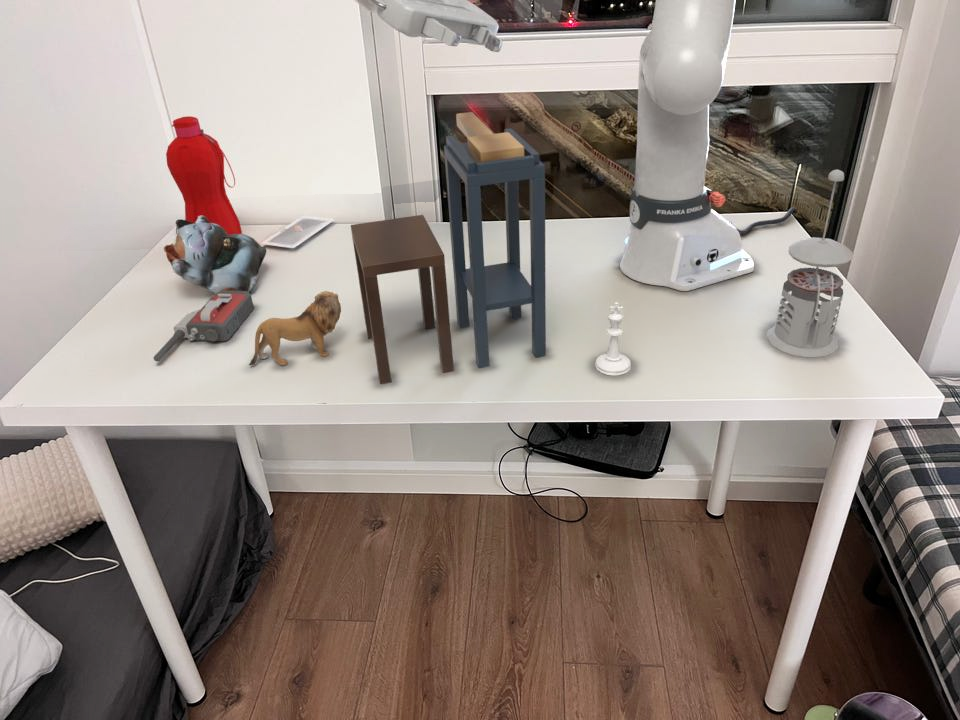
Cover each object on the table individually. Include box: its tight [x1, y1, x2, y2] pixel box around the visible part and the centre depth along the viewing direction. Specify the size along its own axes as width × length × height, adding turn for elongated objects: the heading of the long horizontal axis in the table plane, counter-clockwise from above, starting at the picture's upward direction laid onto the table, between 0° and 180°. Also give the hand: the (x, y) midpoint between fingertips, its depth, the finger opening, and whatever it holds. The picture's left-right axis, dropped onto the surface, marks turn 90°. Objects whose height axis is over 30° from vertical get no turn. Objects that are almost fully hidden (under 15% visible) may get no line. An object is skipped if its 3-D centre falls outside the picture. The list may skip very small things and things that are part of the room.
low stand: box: [350, 214, 455, 385], centre depth 107 cm, size 10×14×18 cm
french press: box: [766, 169, 854, 358], centre depth 102 cm, size 10×12×25 cm
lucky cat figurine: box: [163, 215, 267, 294], centre depth 130 cm, size 15×12×14 cm
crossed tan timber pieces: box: [455, 111, 524, 163], centre depth 102 cm, size 6×20×2 cm, turn 14°
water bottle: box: [165, 116, 243, 235], centre depth 141 cm, size 9×11×25 cm
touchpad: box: [259, 214, 336, 249], centre depth 150 cm, size 8×15×2 cm, turn 158°
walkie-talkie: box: [153, 290, 255, 362], centre depth 118 cm, size 9×4×20 cm
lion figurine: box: [248, 290, 342, 367], centre depth 110 cm, size 15×5×9 cm, turn 116°
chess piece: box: [594, 301, 632, 377], centre depth 103 cm, size 5×5×10 cm
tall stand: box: [443, 127, 547, 369], centre depth 105 cm, size 10×14×29 cm
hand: (477, 43), depth 106 cm, fingers open, 8 cm apart
